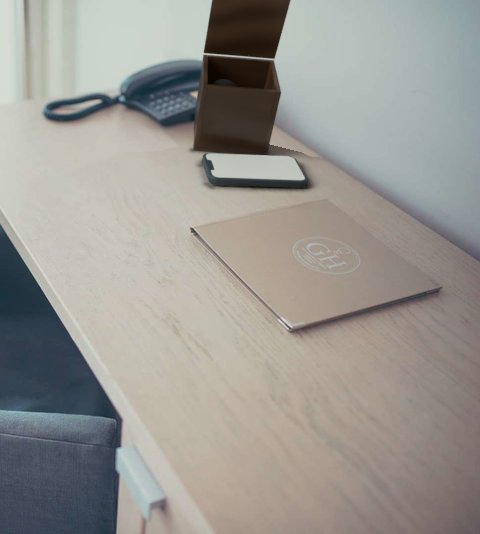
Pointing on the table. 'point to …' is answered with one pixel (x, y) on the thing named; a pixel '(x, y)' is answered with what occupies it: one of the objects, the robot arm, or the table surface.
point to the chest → (236, 105)
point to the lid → (245, 27)
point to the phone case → (253, 170)
